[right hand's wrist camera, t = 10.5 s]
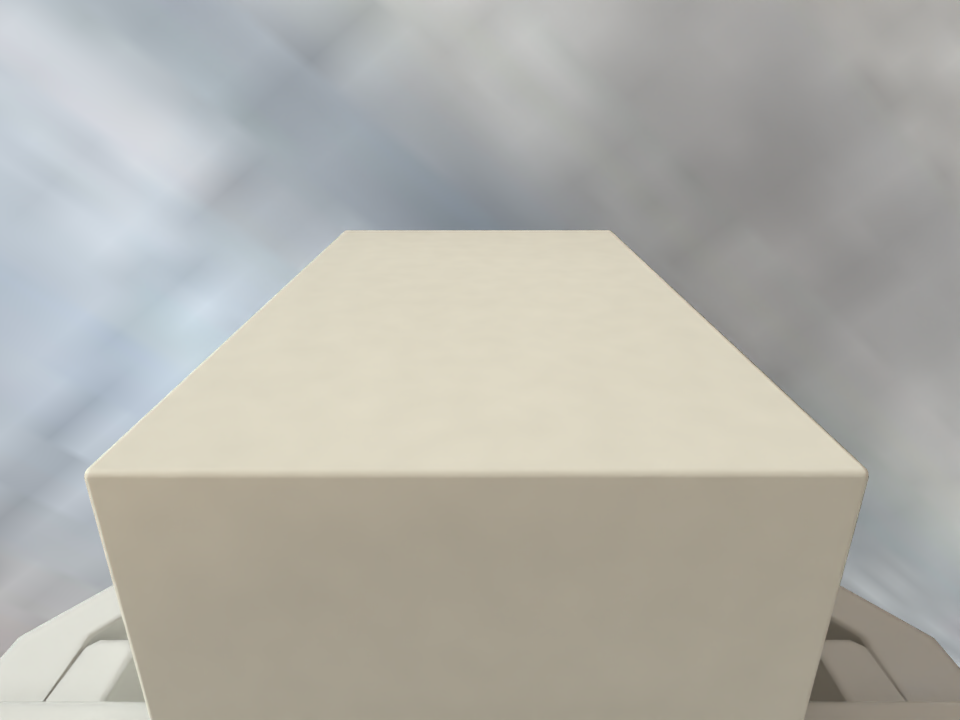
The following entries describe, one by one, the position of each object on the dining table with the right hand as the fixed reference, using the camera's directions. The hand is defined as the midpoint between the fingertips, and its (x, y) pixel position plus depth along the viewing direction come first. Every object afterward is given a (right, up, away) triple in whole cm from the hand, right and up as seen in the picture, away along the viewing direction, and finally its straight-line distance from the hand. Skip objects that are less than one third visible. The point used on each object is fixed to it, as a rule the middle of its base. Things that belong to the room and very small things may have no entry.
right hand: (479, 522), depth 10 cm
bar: (0, -8, +6) cm, 10 cm away
